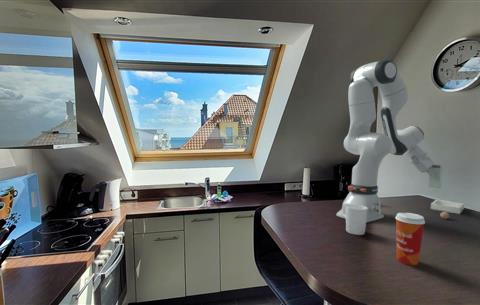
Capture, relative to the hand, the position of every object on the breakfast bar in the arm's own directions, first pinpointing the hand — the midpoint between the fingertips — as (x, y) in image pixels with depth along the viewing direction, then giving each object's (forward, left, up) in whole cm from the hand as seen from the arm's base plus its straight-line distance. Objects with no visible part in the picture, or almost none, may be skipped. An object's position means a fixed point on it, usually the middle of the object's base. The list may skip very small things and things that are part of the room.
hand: (437, 176), depth 137 cm
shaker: (0, +1, -5) cm, 5 cm away
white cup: (-61, +15, -18) cm, 65 cm away
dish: (+10, -4, -18) cm, 21 cm away
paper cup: (-74, -6, -18) cm, 76 cm away
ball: (-12, -6, -18) cm, 22 cm away
